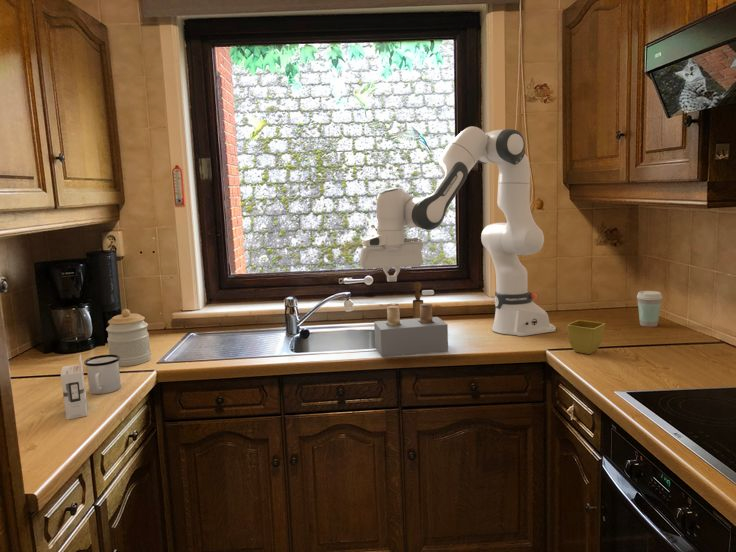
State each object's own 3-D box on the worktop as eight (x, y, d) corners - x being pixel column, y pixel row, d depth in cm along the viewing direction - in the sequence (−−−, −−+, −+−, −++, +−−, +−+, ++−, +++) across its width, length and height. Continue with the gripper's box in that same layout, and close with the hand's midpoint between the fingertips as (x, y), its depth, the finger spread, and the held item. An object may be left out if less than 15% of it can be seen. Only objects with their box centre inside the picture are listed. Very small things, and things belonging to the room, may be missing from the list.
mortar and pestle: (427, 331, 228) (426, 283, 225) (410, 332, 228) (408, 284, 226) (426, 327, 235) (425, 280, 232) (409, 327, 235) (408, 281, 232)
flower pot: (605, 350, 194) (605, 322, 193) (593, 357, 188) (594, 328, 187) (578, 346, 200) (578, 319, 199) (566, 352, 194) (566, 324, 193)
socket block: (438, 342, 212) (437, 316, 211) (448, 351, 201) (447, 324, 199) (375, 347, 209) (374, 321, 208) (381, 357, 197) (380, 329, 196)
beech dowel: (398, 331, 205) (397, 305, 204) (401, 334, 201) (400, 307, 200) (387, 332, 205) (386, 306, 203) (389, 335, 201) (388, 308, 200)
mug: (92, 385, 180) (89, 355, 179) (126, 382, 182) (123, 353, 180) (80, 399, 169) (76, 367, 167) (116, 396, 170) (113, 364, 169)
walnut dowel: (430, 328, 207) (430, 303, 206) (434, 331, 203) (433, 305, 202) (419, 329, 206) (418, 304, 205) (422, 332, 202) (421, 306, 201)
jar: (147, 365, 199) (142, 311, 197) (105, 368, 197) (99, 314, 195) (154, 354, 212) (149, 304, 209) (114, 357, 210) (109, 306, 207)
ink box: (66, 409, 161) (60, 355, 159) (87, 406, 163) (81, 352, 161) (65, 420, 154) (58, 363, 152) (87, 416, 156) (81, 360, 154)
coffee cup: (642, 321, 230) (642, 289, 228) (665, 324, 224) (666, 291, 222) (631, 325, 225) (632, 293, 223) (655, 328, 218) (656, 295, 217)
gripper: (419, 236, 203) (420, 278, 205) (358, 239, 200) (359, 281, 202) (424, 238, 197) (425, 280, 199) (361, 241, 194) (362, 284, 196)
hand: (391, 281), depth 200 cm, fingers closed
